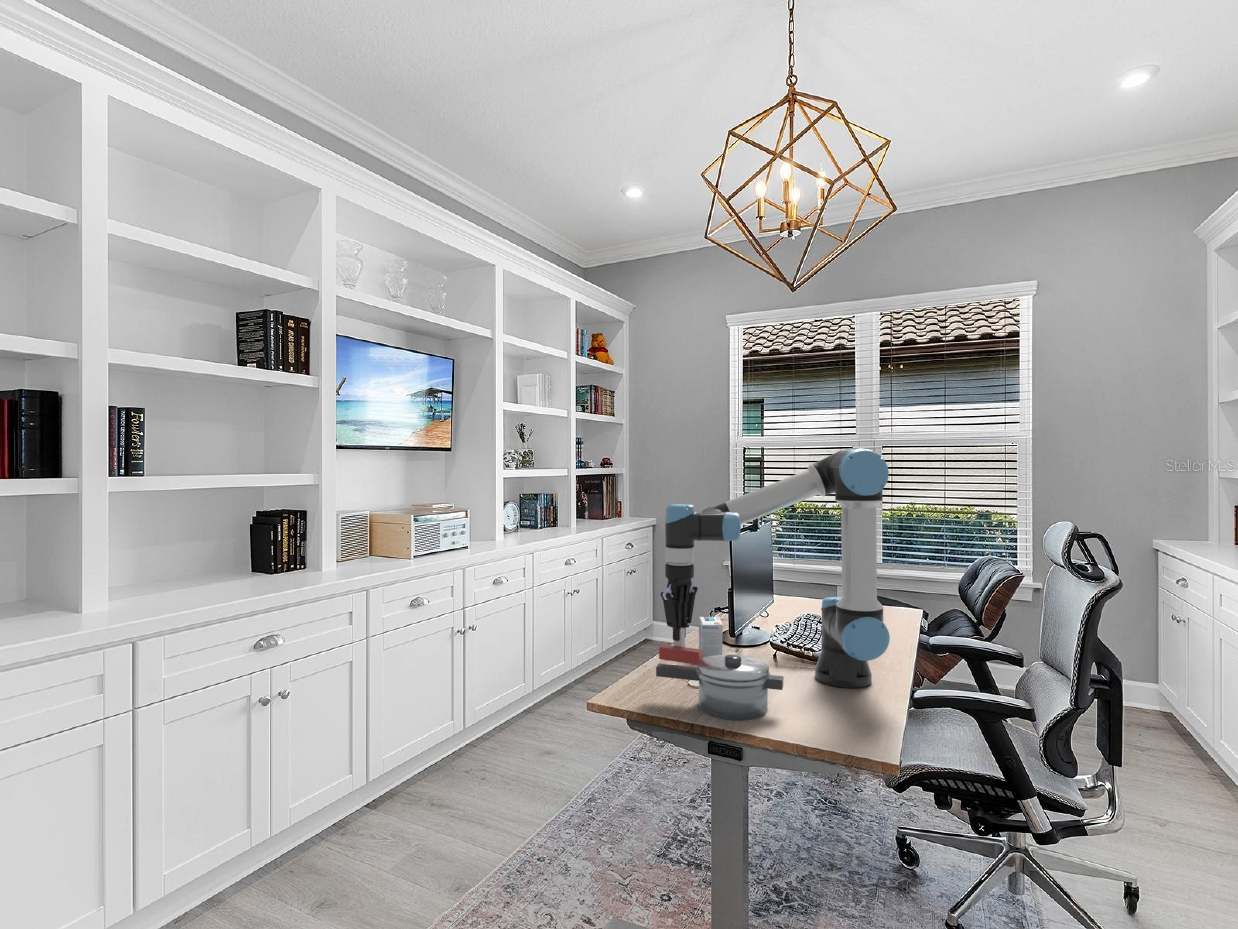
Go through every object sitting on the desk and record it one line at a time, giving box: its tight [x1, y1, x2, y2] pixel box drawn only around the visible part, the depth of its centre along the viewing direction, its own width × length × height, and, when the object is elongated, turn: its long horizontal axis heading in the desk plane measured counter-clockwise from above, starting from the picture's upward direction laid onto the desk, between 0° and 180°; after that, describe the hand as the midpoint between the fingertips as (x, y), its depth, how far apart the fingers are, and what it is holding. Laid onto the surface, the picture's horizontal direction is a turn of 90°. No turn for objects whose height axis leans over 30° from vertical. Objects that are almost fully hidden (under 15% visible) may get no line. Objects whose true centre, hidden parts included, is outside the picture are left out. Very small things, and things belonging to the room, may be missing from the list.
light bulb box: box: [698, 616, 724, 658], centre depth 213 cm, size 11×7×11 cm, turn 178°
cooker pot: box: [655, 663, 785, 721], centre depth 169 cm, size 32×18×9 cm, turn 71°
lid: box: [658, 643, 770, 682], centre depth 170 cm, size 28×18×4 cm, turn 63°
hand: (679, 652), depth 177 cm, fingers closed
